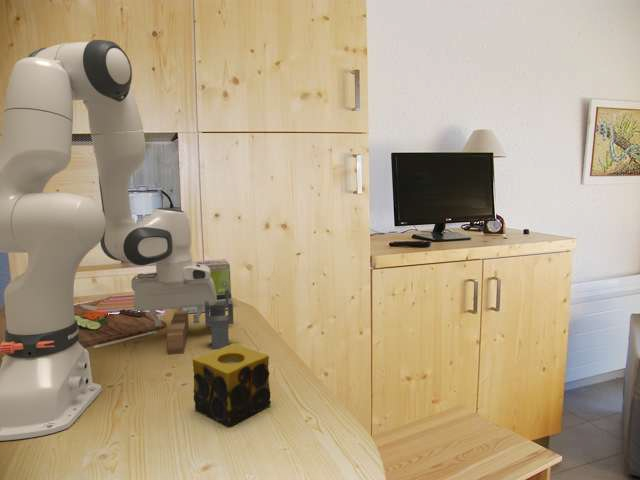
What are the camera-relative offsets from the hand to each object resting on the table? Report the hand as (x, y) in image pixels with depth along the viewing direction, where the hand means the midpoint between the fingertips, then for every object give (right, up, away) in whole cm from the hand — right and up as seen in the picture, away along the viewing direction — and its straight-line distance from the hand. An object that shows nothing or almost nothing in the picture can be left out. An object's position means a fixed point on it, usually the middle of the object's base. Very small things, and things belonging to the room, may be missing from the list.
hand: (177, 324), depth 125 cm
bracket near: (+12, -5, -5) cm, 14 cm away
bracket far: (+9, -3, +9) cm, 12 cm away
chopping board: (-28, -3, +15) cm, 32 cm away
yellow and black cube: (+21, -9, -36) cm, 43 cm away
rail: (0, -4, 0) cm, 4 cm away
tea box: (+1, 0, +28) cm, 28 cm away
